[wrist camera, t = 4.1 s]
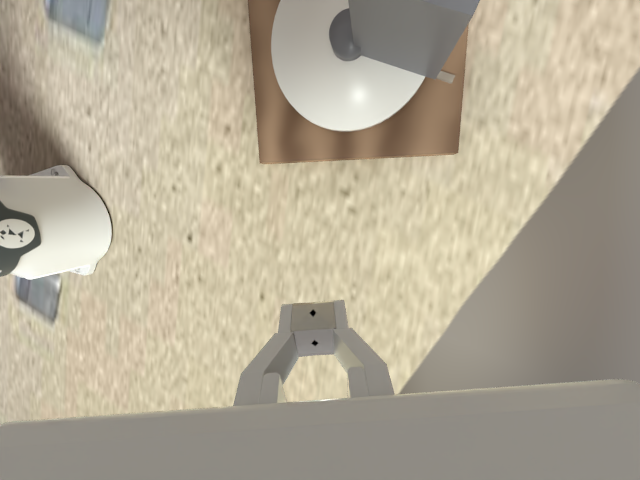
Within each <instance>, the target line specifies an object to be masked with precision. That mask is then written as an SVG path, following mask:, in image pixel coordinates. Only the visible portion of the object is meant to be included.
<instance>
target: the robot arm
mask: <svg viewBox="0 0 640 480" xmlns="http://www.w3.org/2000/svg"><path fill="white" fill-rule="evenodd" d="M111 236H112V228H111V222H110V217H109V214H108V212H107V209H106V207H105V205H104V203H103V202H102V200H101V199H100V197H99V196H98V195H97V194H96V192H95V191H94V190H93V189H91V188H90V187H89V186H88V185H86V184H85V183H83V182H82V181H81V180H80V179H79V178H78V177H77V175H76V174H75V173H74V171H73V170H72V169H71V168H70V167H69V166H68V165H57V166H54V167H51V168H48V169H46V170H43V171H40V172H37V173H34V174H31V175H29V176H10V175H4V176H0V277H1V276H5V275H7V274H14V275H16V276H18V277H23V278H26V279H35V278H39V277H44V276H48V275H52V274H57V273H61V272H65V271H70V272H73V273H77V274H81V275H89V274H92V273H93V272H94V270H95V267H96V264H97V262H98V261H99V259H101V258H102V257H103V256H104V255H105V253H106V252H107V250H108V248H109V246H110V242H111ZM329 354H334V355H335V357H336V358H337V359H338V361H339V362H340V364H341V365H342V367H343V368H344V370H345V371H346V372H347V380H348V398H340V399H326V400H312V401H298V402H287V399H286V396H285V392H284V389H283V384H284V382H285V380H286V379H287V377H288V375H289V373H290V372H291V370H292V368H293V367H294V365H295V363H296V361H297V360H298V357H302V356H312V355H329ZM0 480H640V384H638V383H636V382H634V381H631V380H625V379H610V380H596V381H581V382H567V383H553V384H539V385H525V386H511V387H496V388H482V389H468V390H454V391H440V392H426V393H412V394H397V395H395V394H394V390H393V387H392V383H391V379H390V376H389V372H388V368H387V364H386V363H385V362H384V361H383V360H382V359H381V358H380V357H379V356H378V355H377V354H376V353H375V352H374V351H373V350H372V349H371V347H370V346H369V345H368V344H367V343H366V342H365V341H364V340H363V339H362V338H361V337H360V336H359V335H358V334H357V333H356V332H355V331H354V330H353V329H352V328H348V321H347V315H346V309H345V302H344V300H336V301H323V302H313V303H294V304H282V307H281V313H280V321H279V329H278V333H275V334H274V335H273V336H272V337H271V339H270V340H269V341H268V342H267V343H266V345H265V346H264V347H263V348H262V349H261V351H260V352H259V353H258V354H257V355H256V357H255V358H254V359H253V360H252V361H251V363H250V364H249V365H248V366H247V367H246V369H245V370H244V371H243V372H242V373H241V376H240V380H239V384H238V388H237V393H236V397H235V401H234V405H233V406H228V407H213V408H199V409H185V410H171V411H157V412H142V413H128V414H113V415H99V416H84V417H70V418H56V419H41V420H26V421H12V422H6V423H3V424H0Z"/></svg>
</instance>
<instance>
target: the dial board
mask: <svg viewBox="0 0 640 480" xmlns="http://www.w3.org/2000/svg"><path fill="white" fill-rule="evenodd" d="M279 3H280V0H248V8H249V22H250V35H251V49H252V63H253V76H254V90H255V104H256V117H257V131H258V145H259V158H260V163H262V164H277V163H297V162H316V161H336V160H355V159H375V158H395V157H414V156H434V155H454V154H456V153H458V147H459V135H460V122H461V110H462V98H463V85H464V73H465V61H466V48H467V36H468V25H467V27H466V28H465V30H464V32H463V33H462V35H461V37H460V38H459V40H458V42H457V44H456V45H455V47H454V49H453V50H452V52H451V54H450V55H449V57H448V59H447V61H446V62H445V64H444V66H443V67H442V69H441V71H440V72H439V74H438V76H437V78H436V79H435V80H434V79H431V78H428V77H425V78H424V80H423V82H422V84H421V85H420V87H419V89H418V90H417V92H416V93H415V94H414V96H413V97H412V98H411V99H410V100H409V102H408V103H407V104H406V105H405V106H404V107H403V108H402V109H400V110H399V111H398V112H397V113H396V114H394V115H393V116H392V117H390V118H389V119H387V120H385V121H383V122H382V123H380V124H377V125H375V126H373V127H370V128H367V129H363V130H359V131H352V132H339V131H332V130H328V129H325V128H322V127H319V126H317V125H315V124H313V123H311V122H310V121H308V120H307V119H305V118H304V117H303V116H302V115H301V114H299V113H298V112H297V111H296V110H295V108H294V107H293V106H292V105H291V104H290V103H289V101H288V100H287V98H286V97H285V95H284V94H283V92H282V90H281V88H280V86H279V84H278V81H277V78H276V75H275V72H274V67H273V63H272V54H271V37H272V28H273V23H274V18H275V15H276V11H277V8H278V5H279ZM468 24H469V23H468Z"/></svg>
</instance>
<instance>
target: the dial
mask: <svg viewBox="0 0 640 480" xmlns="http://www.w3.org/2000/svg"><path fill="white" fill-rule="evenodd" d="M479 1H480V0H280V3H279V5H278V8H277V11H276V15H275V18H274V23H273V28H272V37H271V54H272V63H273V67H274V72H275V75H276V78H277V81H278V84H279V86H280V88H281V90H282V92H283V94H284V95H285V97H286V98H287V100H288V101H289V103H290V104H291V105H292V106H293V107H294V108H295V110H296V111H297V112H298V113H299V114H301V115H302V116H303V117H304V118H305V119H307V120H308V121H310V122H311V123H313V124H315V125H317V126H319V127H322V128H325V129H328V130H332V131H339V132H352V131H359V130H363V129H367V128H370V127H373V126H375V125H377V124H380V123H382V122H383V121H385V120H387V119H389V118H390V117H392V116H393V115H394V114H396V113H397V112H398V111H399V110H400V109H402V108H403V107H404V106H405V105H406V104H407V103H408V102H409V100H410V99H411V98H412V97H413V96H414V94H415V93H416V92H417V90H418V89H419V87H420V85H421V84H422V82H423V80H424V78H425V77H428V78H431V79H434V80H435V79H436V78H437V76H438V74H439V72H440V71H441V69H442V67H443V66H444V64H445V62H446V61H447V59H448V57H449V55H450V54H451V52H452V50H453V49H454V47H455V45H456V44H457V42H458V40H459V38H460V37H461V35H462V33H463V32H464V30H465V28H466V27H467V25H468V23H469V21H470V20H471V18H472V16H473V14H474V12H475V10H476V8H477V5H478V3H479Z"/></svg>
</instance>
